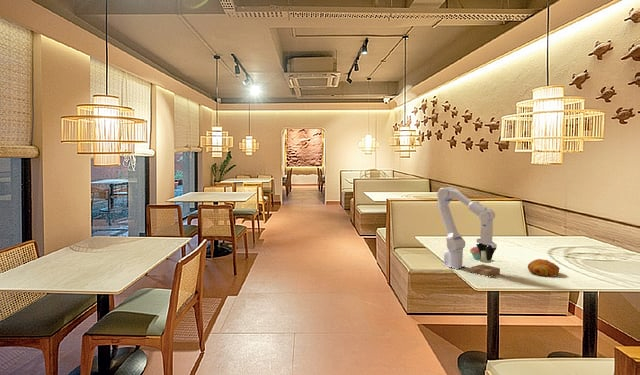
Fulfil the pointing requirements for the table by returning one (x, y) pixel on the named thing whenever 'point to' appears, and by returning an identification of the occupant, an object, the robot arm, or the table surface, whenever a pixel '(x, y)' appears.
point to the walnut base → (485, 270)
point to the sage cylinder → (484, 257)
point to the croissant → (543, 268)
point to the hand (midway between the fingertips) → (485, 258)
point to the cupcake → (475, 252)
